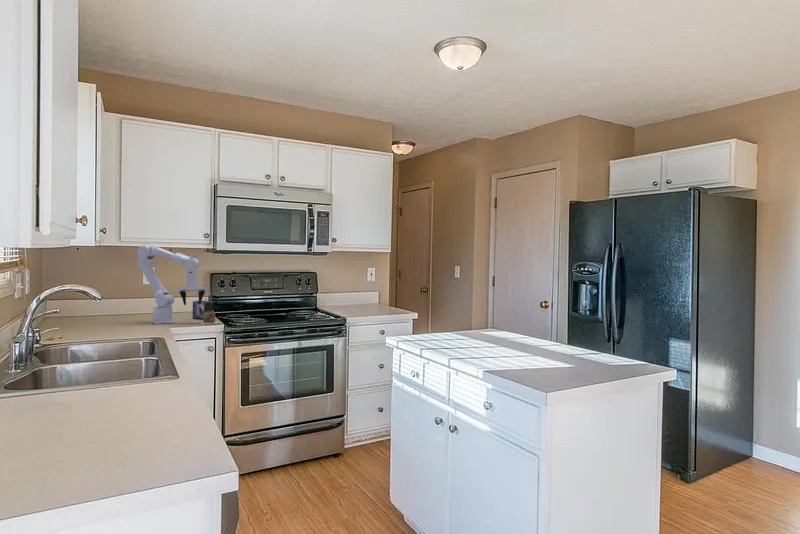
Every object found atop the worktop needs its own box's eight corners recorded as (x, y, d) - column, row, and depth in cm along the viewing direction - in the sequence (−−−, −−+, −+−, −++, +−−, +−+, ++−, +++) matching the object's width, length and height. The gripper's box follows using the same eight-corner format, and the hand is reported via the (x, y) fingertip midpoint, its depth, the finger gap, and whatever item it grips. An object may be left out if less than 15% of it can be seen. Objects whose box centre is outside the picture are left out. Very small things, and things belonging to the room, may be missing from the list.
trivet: (202, 325, 264) (202, 323, 264) (198, 323, 271) (198, 321, 271) (219, 324, 269) (219, 322, 269) (215, 322, 276) (215, 320, 276)
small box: (191, 318, 289) (191, 301, 289) (200, 317, 295) (201, 300, 295) (203, 320, 284) (204, 302, 284) (212, 319, 290) (213, 301, 290)
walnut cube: (205, 322, 267) (205, 313, 267) (203, 321, 271) (203, 312, 271) (215, 322, 270) (215, 313, 269) (212, 321, 274) (212, 312, 274)
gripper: (179, 280, 261) (179, 305, 261) (207, 280, 269) (207, 304, 270) (177, 280, 267) (177, 304, 267) (204, 279, 275) (204, 303, 275)
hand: (192, 304), depth 269 cm, fingers open, 7 cm apart
